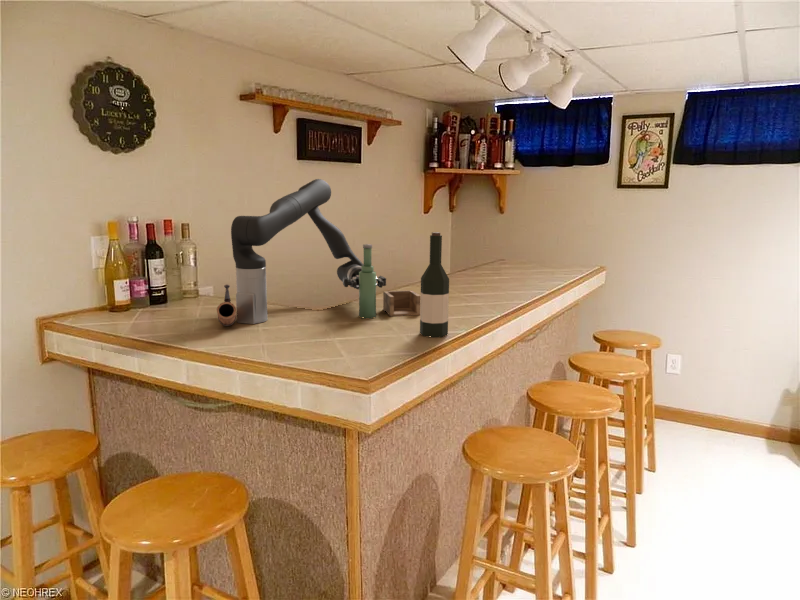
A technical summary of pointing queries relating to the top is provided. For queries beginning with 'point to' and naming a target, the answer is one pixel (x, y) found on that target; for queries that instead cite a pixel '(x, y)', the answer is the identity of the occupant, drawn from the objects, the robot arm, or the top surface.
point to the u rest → (401, 303)
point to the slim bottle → (367, 285)
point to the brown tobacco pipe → (226, 310)
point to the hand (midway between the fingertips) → (368, 284)
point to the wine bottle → (434, 293)
